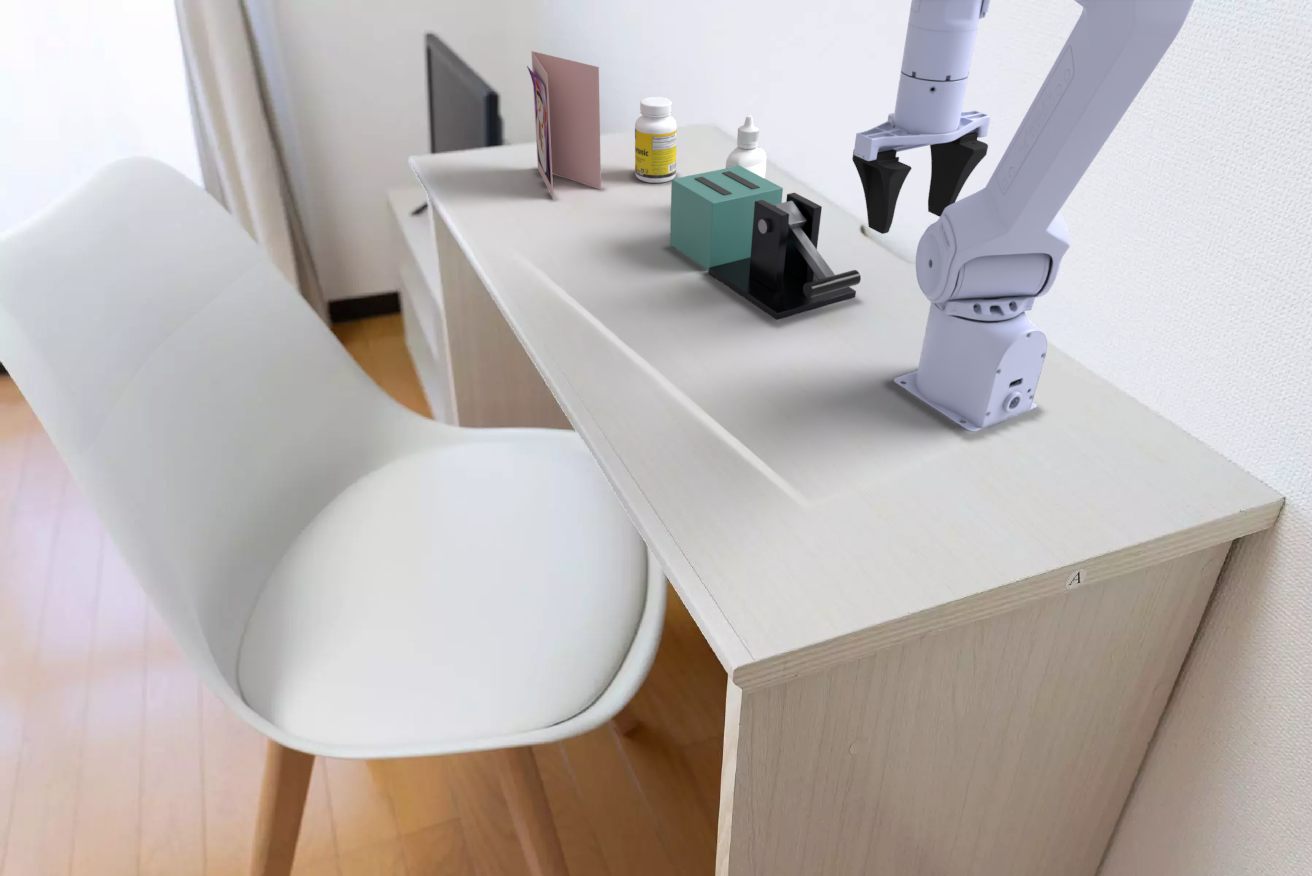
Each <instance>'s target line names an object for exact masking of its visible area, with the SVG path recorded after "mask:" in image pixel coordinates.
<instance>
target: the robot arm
mask: <svg viewBox="0 0 1312 876" xmlns="http://www.w3.org/2000/svg"><path fill="white" fill-rule="evenodd" d="M990 1H991V0H911V3H910V10H909V15H908V22H907V29H906V34H905V42H904V47H903V55H902V62H901V68H900V75H899V81H898V88H897V92H896V100H895V107H894V112H892V113H888V115H887V121H885V122H883V123H881V124H878V125H877V126H874V127H872V128H870V129H868V130H864V131H861V132H857V133H856V134H855V139H854V141H855V142H854V147H853V148H854V149H853V151H852V159H851V160H852V163H853V164H854V166H855V168H856V171H857V174H858V177H859V179H860V183H861V185H862V189H863V194H864V200H865V207H866V214H867V224H868V228H869V229H872V230H874V231H875V232H877V233H879V234H881V235H882V234H883V235H884V234H887V233H889V232H890V229H891V227H892V224H893V222H894V221H893V220H894V216H895V212H896V211H895V210H896V206H897V202H898V199H899V195H900V192H901V190H902V187H903V186H904V183H905V181H906V179H907V178H908V175H909V173H910V172H911V171H912V167H911V166H910V165H908V164H906V163H905V162H901V161H900V157H899V156H897V153H898V152H905V151H908V150H914V149H919V148H922V147H927V146H928V147H929V148H930V158H931V159H930V160H931V162H930V163H931V164H930V165H931V166H930V167H931V168H930V169H931V170H930V171H931V173H930V182H929V190H928V197H927V212H928V213H931V214H933V215H934V216H937V217H939V218H938V219H937V220H936V221H935V222H933V223H931V224H930V225H929V226H928V227H927V228H926V229H925V230H924V232H923V233H922V235H921V237H920V239H919V241H918V244H917V246H916V247H917V248H916V252H915V274H916V279H917V283H918V287H919V289H920V291H921V292H922V294H923V295H924V296H925V298H926V299H927V300H928V301H929V302H930V304H929V311H928V314H927V315H928V316H927V321H926V326H925V331H924V336H923V339H922V345H921V351H920V356H919V360H918V361H919V362H918V365H917V366H918V367H917V370H914V371H911V372H908V373H905V374H902V375H900V376H897V377H894V378H893V382H894V383H895V384H897V385H898V386H900V387H901V388H903V389H904V390H906V391H907V392H909V393H910V394H912V395H914V397H917V398H918V399H920V400H921V401H923V402H924V403H925V404H927V405H929V406H930V407H931V408H933V409H935V410H936V411H938V412H940V413H941V414H942V415H944V416H945V417H947V418H948V419H950V420H951V421H953V422H955V423H956V424H957V425H959V426H961V427H962V428H963V429H965V430H966V431H968V432H972V433H975V432H979V431H980V430H983V429H986V428H988V427H990V426H993V425H995V424H998V423H1001V422H1003V421H1006V420H1008V419H1011V418H1014V417H1016V416H1019V415H1021V414H1023V413H1026V412H1029V411H1032V410H1034V409H1036V408H1037V406H1038V405H1037V403H1036V402H1034V398H1035V395H1036V391H1037V388H1038V383H1039V380H1040V376H1041V373H1042V371H1043V366H1044V362H1045V359H1046V355H1047V351H1048V339H1047V336H1046V334H1045V333H1044V332H1043V331H1042V330H1041V329H1040V328H1038V327H1037V326H1036V325H1034V323H1033V322H1031V320H1030V319H1029V317H1028V316H1027V314H1026V312H1027V311H1032V310H1033V307H1034V303H1035V300H1036V298H1037V299H1038V298H1041V297H1043V296H1045V295H1046V294H1047V293H1048V292H1049V291H1050V290H1051V288H1052V287H1053V285H1054V283H1055V282H1056V280H1057V278H1058V276H1059V272H1060V268H1061V263H1062V260H1063V258H1064V256H1065V254H1066V253H1067V252H1068V250H1069V249H1070V248H1071V239H1070V232H1069V228H1068V225H1067V222H1066V219H1065V217H1064V215H1063V213H1062V211H1061V209H1062V208H1063V207H1064V205H1065V203H1066V202H1067V201H1068V198H1069V197H1070V196H1071V194H1072V193H1073V191H1074V190H1075V188H1076V187H1077V185H1078V184H1079V182H1080V181H1081V180H1082V178H1083V176H1084V175H1085V173H1086V172H1087V170H1088V169H1089V168H1090V166H1091V164H1092V163H1093V162H1094V160H1095V158H1096V157H1097V155H1098V154H1099V152H1100V151H1101V150H1102V148H1103V147H1104V145H1105V144H1106V143H1107V140H1108V139H1109V137H1110V136H1111V134H1112V133H1113V132H1114V130H1115V129H1116V127H1117V126H1118V124H1119V123H1120V121H1121V120H1122V118H1123V117H1124V115H1125V114H1126V113H1127V111H1128V109H1129V108H1130V107H1131V105H1132V103H1133V102H1134V101H1135V99H1136V97H1137V96H1138V95H1139V93H1140V92H1141V91H1142V89H1143V87H1144V86H1145V84H1146V83H1147V81H1148V80H1149V78H1150V77H1151V75H1152V74H1153V73H1154V71H1155V69H1156V68H1157V66H1158V65H1159V63H1160V62H1161V60H1162V59H1163V57H1164V56H1165V55H1166V53H1167V52H1168V50H1169V48H1170V47H1171V45H1173V42H1174V41H1175V40H1176V38H1177V36H1178V35H1179V33H1180V31H1181V30H1182V28H1183V26H1184V24H1185V22H1186V19H1187V18H1188V15H1189V13H1190V11H1191V8H1192V7H1193V4H1194V2H1195V0H1073V1H1074V2H1076V3H1077V4H1078V5H1080V6H1081V7H1082V11H1081V14H1080V16H1079V17H1078V20H1077V21H1076V23H1075V25H1074V26H1073V29H1072V30H1071V32H1070V34H1069V35H1068V37H1067V39H1066V40H1065V43H1064V45H1063V46H1062V48H1061V50H1060V52H1059V54H1058V56H1057V57H1056V59H1055V61H1054V63H1053V65H1051V66H1052V67H1050V70H1049V71H1048V74H1047V75H1046V77H1045V79H1044V81H1043V83H1042V84H1041V86H1040V87H1039V90H1038V91H1037V94H1036V95H1035V96H1034V99H1033V101H1032V103H1031V104H1030V106H1029V108H1028V109H1027V112H1026V113H1025V114H1024V117H1023V119H1022V120H1021V122H1020V124H1019V126H1018V128H1017V129H1016V131H1015V133H1014V135H1013V137H1012V138H1011V140H1010V142H1009V144H1008V145H1007V147H1006V149H1005V151H1004V153H1003V155H1002V157H1001V158H1000V160H999V162H998V164H997V166H996V167H995V169H994V171H993V172H992V174H991V176H990V178H989V180H988V182H987V183H986V186H985V187H983V188H982V189H980V190H977V191H976V192H974V193H972V194H969V195H967V196H966V197H963V198H961V199H959V200H957V199H958V197H959V195H960V193H961V191H962V189H963V187H964V185H965V184H966V182H967V180H968V179H969V177H970V175H971V174H972V173H973V171H974V170H975V169H976V167H978V165H979V163H980V162H981V161H982V160H983V159H984V158H985V157H986V156H987V154H988V148H989V145H988V143H986V142H985V141H982V140H979V139H980V138H985V137H987V136H988V132H989V127H990V123H991V116H992V115H990V114H987V113H984V112H982V111H978V110H975V109H974V110H969V111H968V110H967V111H963V106H964V102H965V95H966V89H967V85H968V79H969V75H970V70H971V64H972V59H973V53H974V50H975V43H976V38H977V33H978V27H979V23H980V20H981V19H984V18H985V17H986V14H987V13H988V11H989V6H990V3H991V2H990ZM961 421H962V422H961Z"/></svg>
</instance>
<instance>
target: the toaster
mask: <svg viewBox="0 0 1312 876" xmlns="http://www.w3.org/2000/svg"><path fill="white" fill-rule="evenodd" d="M670 186H671V189H670V193H671V194H670V196H671V197H670V226H669V227H670V228H669V229H670V231H669V232H670V233H669V245H670V246H672V247H673V248H675V249H676V250H678V251H679V252H681V253H682V254H684V255H685V256H687V257H688V258H690V259H691V260H692V261H694V262H695V263H697V264H698V265H700V266H701V267H703V268H705V269H706V270H707V271H709V267H713V266H717V265H721V264H725V263H729V262H733V261H737V260H741V259H745V258H749V257H751V245H752V231H753V218H754V205H755V201H758V200H764V201H766V202H768V203H770V204H772V205H775V204H779V203H783V193H784V192H783V191H784V188H783V187H782V186H780V185H778V184H776V183H774V182H773V181H770V180H768V179H767V178H765V179H764V178H763V177H761V176H759V175H757V174H755V173H753V172H751V171H749V170H747V169H745V168H743V167H741V166H736V167H731V168H726V167H725V168H721V169H716V170H711V171H706V172H701V173H700V172H699V173H696V174H691V175H687V176H686V175H685V176H680V177H674V178H673V179H672V180H671V185H670Z"/></svg>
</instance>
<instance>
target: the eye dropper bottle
mask: <svg viewBox="0 0 1312 876" xmlns="http://www.w3.org/2000/svg"><path fill="white" fill-rule="evenodd" d="M736 137H737V138H736V147H735V148H734V149H733V150H732V151H731V152H730V153H729V155H728V156H727V158H726V161H725V169H726V168H731V167H736V166H741V167H743V168H745V169H747V170H749V171H751V172H753V173H755V174H757V175H759V176H761V177H763V178H764V179H766V172H767V171H766V169H767V153H766V150H764V149H763V148H761V147H760V146H759V139H760V138H759V137H760V128H759V127H757V126H755V125H754V118H753V115H746V116H745V120H744V124H743V125H741V126H739V127H738V128H737V136H736Z"/></svg>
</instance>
